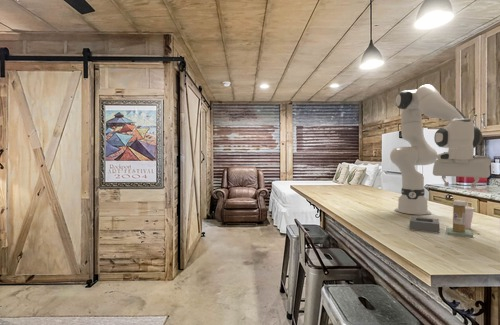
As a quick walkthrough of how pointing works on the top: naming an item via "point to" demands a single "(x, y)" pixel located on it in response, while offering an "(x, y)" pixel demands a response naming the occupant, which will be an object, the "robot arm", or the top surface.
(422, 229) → the socket block
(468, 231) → the rubber mat
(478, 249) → the top surface
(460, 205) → the sprinkles bottle
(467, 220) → the smoothie
